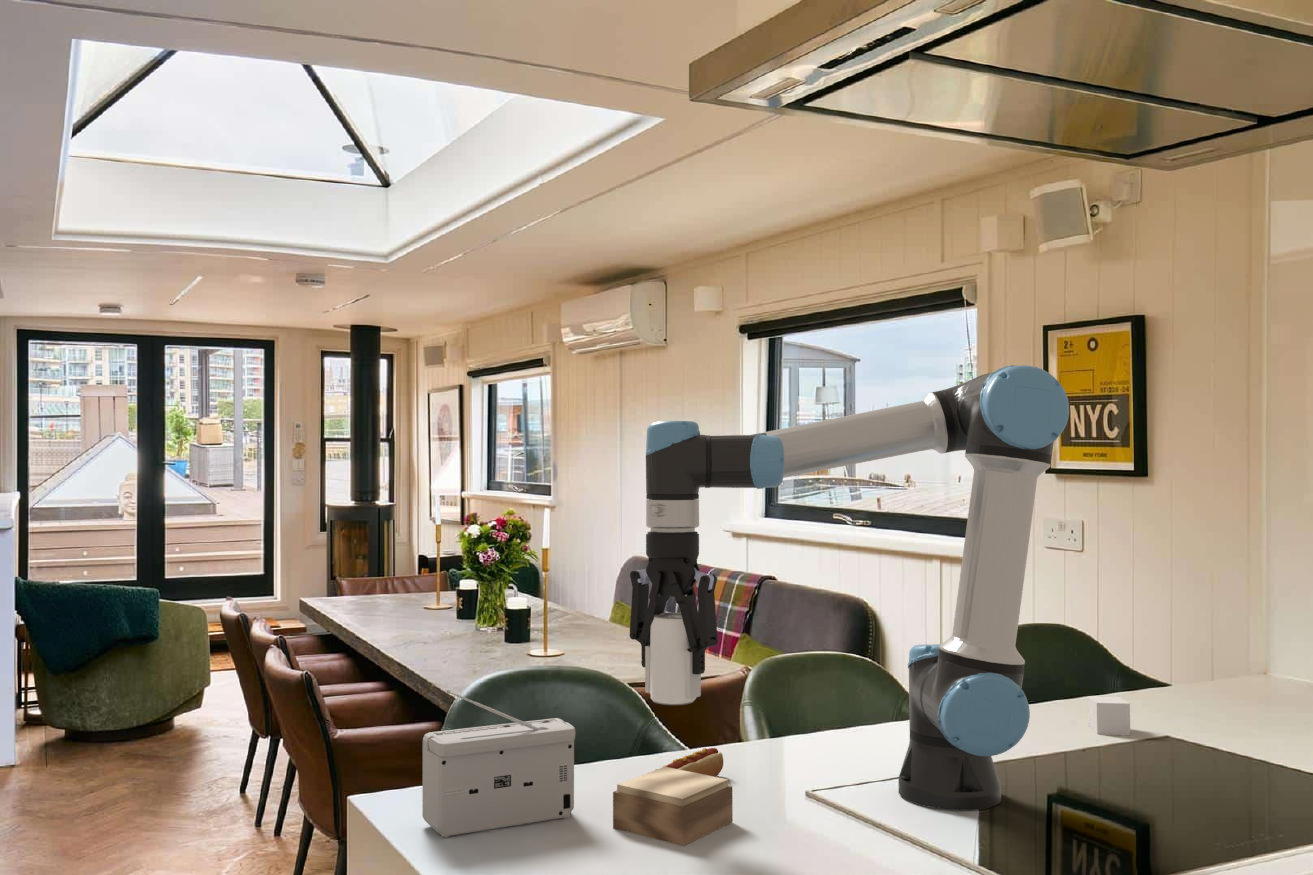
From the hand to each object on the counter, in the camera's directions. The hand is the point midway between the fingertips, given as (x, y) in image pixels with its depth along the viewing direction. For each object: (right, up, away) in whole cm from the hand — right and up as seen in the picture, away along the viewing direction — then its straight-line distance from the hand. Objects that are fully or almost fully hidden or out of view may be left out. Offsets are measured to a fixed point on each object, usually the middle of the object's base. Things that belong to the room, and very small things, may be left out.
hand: (672, 693), depth 149 cm
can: (0, -1, 0) cm, 1 cm away
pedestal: (0, -18, -1) cm, 18 cm away
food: (+3, -19, +19) cm, 28 cm away
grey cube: (+84, -20, +54) cm, 102 cm away
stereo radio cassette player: (-24, -19, +1) cm, 31 cm away
